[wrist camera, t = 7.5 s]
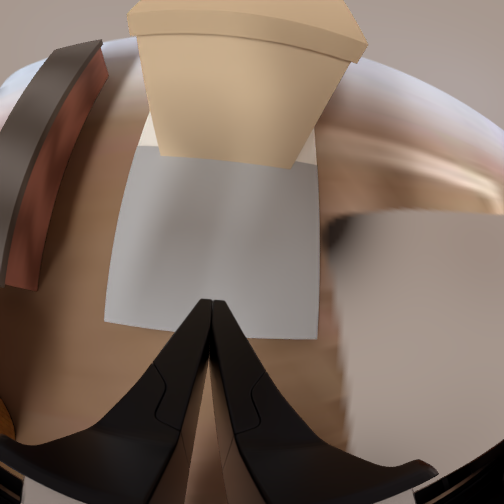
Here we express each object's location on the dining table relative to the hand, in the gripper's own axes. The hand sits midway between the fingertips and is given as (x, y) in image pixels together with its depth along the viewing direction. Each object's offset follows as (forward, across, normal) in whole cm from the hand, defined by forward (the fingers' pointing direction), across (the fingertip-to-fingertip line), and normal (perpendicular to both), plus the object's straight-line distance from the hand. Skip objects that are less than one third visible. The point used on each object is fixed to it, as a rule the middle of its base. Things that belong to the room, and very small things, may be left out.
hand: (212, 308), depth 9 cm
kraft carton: (+16, 0, -7) cm, 18 cm away
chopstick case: (+12, +15, -2) cm, 19 cm away
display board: (+12, 0, -3) cm, 13 cm away
